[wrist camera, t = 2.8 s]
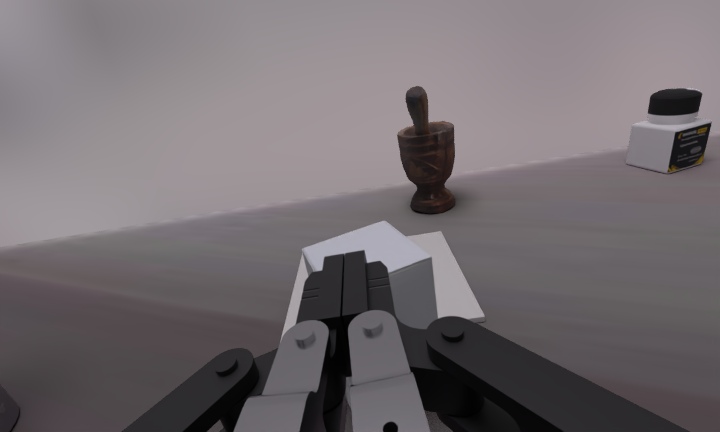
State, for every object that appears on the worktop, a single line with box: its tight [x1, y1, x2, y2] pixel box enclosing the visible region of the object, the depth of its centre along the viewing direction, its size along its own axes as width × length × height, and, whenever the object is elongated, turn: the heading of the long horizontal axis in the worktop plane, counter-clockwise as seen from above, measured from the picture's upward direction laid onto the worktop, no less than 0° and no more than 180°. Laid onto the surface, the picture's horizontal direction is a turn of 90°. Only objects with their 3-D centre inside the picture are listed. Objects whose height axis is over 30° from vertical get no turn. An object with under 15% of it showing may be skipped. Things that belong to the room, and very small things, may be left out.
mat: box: [280, 231, 485, 342], centre depth 42 cm, size 20×18×1 cm
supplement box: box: [302, 221, 438, 410], centre depth 27 cm, size 7×7×13 cm
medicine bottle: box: [626, 88, 712, 174], centre depth 57 cm, size 7×7×12 cm
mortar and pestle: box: [397, 86, 455, 214], centre depth 54 cm, size 12×9×20 cm
